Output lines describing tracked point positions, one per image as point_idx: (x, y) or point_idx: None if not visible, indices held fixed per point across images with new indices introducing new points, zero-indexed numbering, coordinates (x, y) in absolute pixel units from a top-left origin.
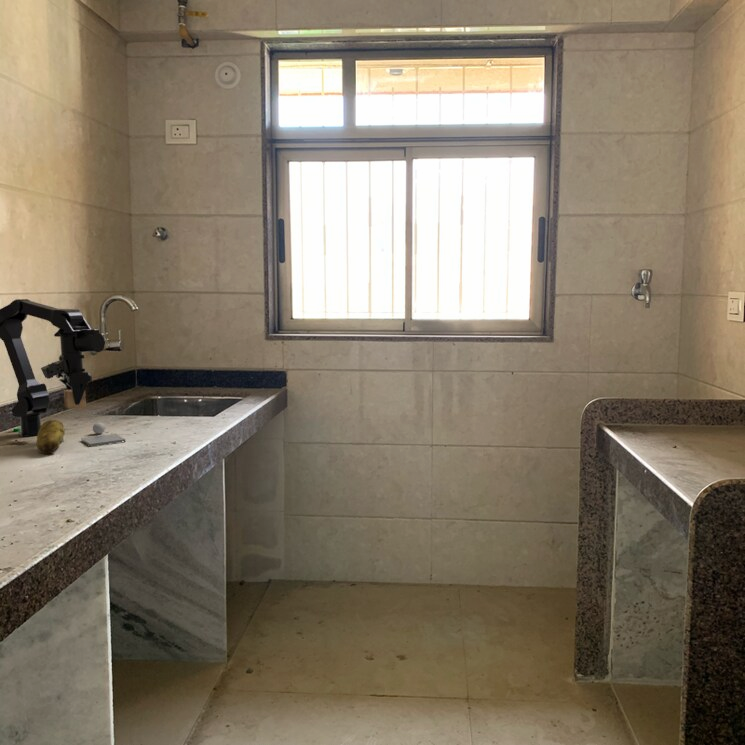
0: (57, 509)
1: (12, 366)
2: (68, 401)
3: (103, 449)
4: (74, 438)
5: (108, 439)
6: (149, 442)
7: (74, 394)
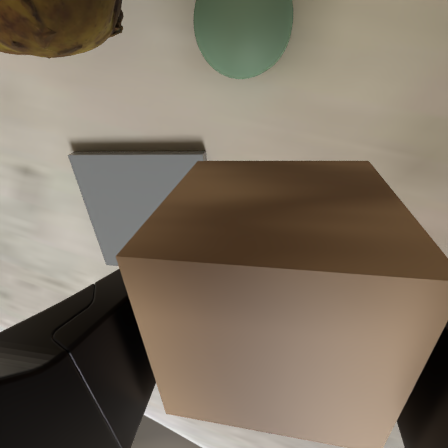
0: None
1: None
2: (172, 191)
3: (22, 178)
4: (281, 138)
5: (123, 228)
6: None
7: (97, 291)
